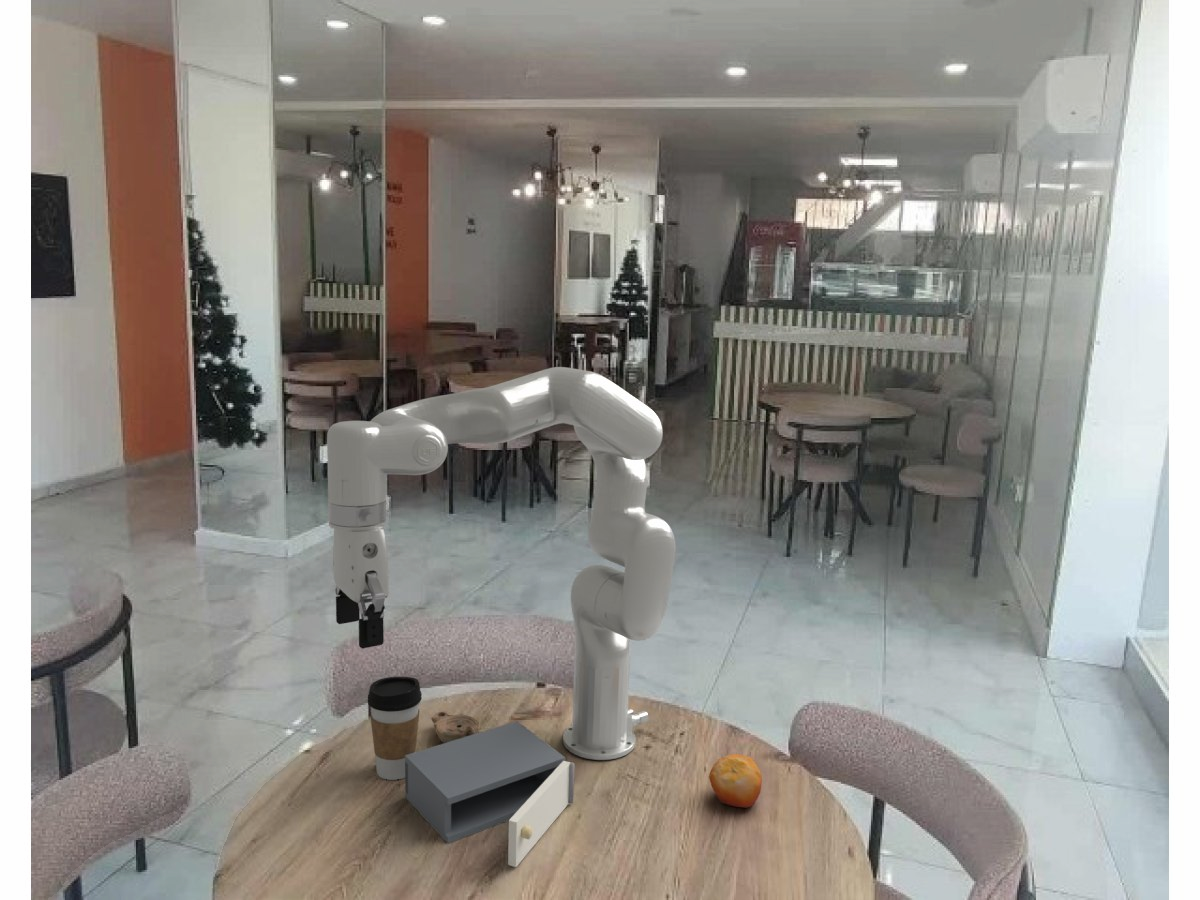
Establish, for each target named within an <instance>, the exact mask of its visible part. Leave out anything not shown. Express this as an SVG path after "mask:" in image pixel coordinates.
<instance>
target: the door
mask: <svg viewBox="0 0 1200 900" xmlns="http://www.w3.org/2000/svg"><path fill="white" fill-rule="evenodd" d="M574 783H575V762H573V761H571V762H570V761H567V760H565V761H563V762H562V763H561V764H560V765H559V766H558V767H557V768H556V769H555V770H554V771H553V773H552V774H551V775H550V776H549V777H548V778H547V779H546V780H545V781H544V782H543V784H542V785H541V786H540V787H539V788H538V789H537V790H536V791H535V792H534V793H533V794H532V796H531V797H530V798H529V799H528V800H527V801H526V802H525V803H524V804H523V805H522V806H521V808H520V809H519V810H518V811H517V812H516V813H515V814H514V815H513V816H512V817H511V819H510V820H509V821H508V849H507V850H508V852H507V853H508V855H507V857H508V859H507V864H508V866H510V867H514V868H517V867H518V866H519V864H520V863H521V862H522V861H523V859H524V858H525V857H527V855H528V853H529V852H530V851H531V850H532V849H533V847H534V846H535V845H536V844H537V842H538V841H539V840H540V839H541V837H542V836H543V835H544V834H545V833H546V832H547V830H549V828H550V827H551V826H552V824H553V823H554V822H555V820H557V818H558V817H559V816H560V815H561V814H562V812H563V811H564V810H565V808H566V807H567V806H568V805H569V804H573V803H574V788H575V787H574V786H575V784H574Z"/></svg>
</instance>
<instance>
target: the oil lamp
mask: <svg viewBox="0 0 1200 900" xmlns="http://www.w3.org/2000/svg"><path fill="white" fill-rule="evenodd" d="M431 721H432V723H433V727H434V728H435V733H436V735H437V737H438V738H439V740H440V741H441V742H442V744H444V743H447V742H450V741H454V740H457V739H460V738H463V737H467V736H470V735H473V734H476V733H480V732H481V723H480V721H479V720H478V719H477V718H475V717H472V716H470V715H464V713H462V712H461V713H458V714H454V713H453V714H452V713H451V711H450V710H446V711H445V710H444V711H438V712H436V713H435V714H434V715H433V716H431Z"/></svg>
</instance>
